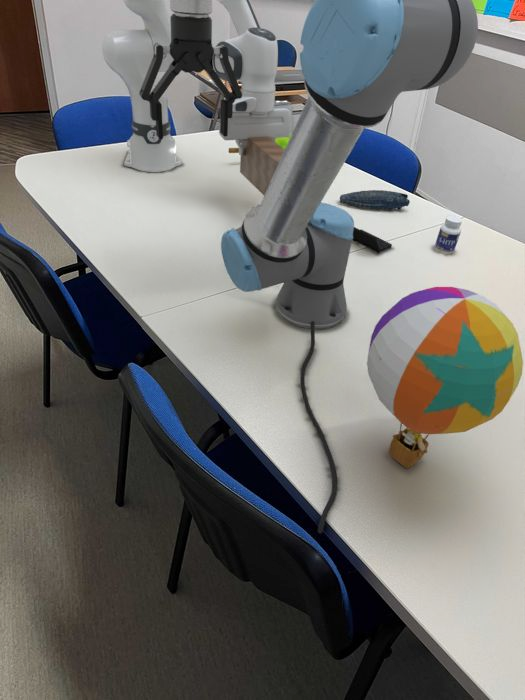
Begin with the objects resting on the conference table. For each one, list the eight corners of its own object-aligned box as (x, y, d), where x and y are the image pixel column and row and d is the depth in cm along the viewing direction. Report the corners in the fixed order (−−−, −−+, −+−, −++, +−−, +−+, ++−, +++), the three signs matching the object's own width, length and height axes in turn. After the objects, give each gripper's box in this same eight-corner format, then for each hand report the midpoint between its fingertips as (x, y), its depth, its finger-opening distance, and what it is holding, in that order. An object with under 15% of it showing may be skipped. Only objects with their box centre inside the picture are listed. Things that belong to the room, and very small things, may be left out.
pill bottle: (433, 251, 139) (442, 220, 133) (435, 243, 143) (444, 213, 137) (453, 256, 138) (464, 225, 132) (454, 247, 142) (465, 217, 136)
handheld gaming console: (396, 239, 139) (388, 216, 131) (384, 261, 138) (375, 240, 130) (358, 230, 145) (348, 208, 137) (347, 252, 144) (336, 231, 136)
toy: (317, 448, 82) (351, 286, 63) (393, 397, 93) (442, 246, 74) (418, 536, 71) (496, 372, 52) (491, 467, 82) (578, 310, 63)
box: (297, 205, 134) (302, 163, 127) (276, 208, 131) (280, 164, 125) (259, 170, 152) (261, 131, 145) (239, 172, 150) (241, 132, 143)
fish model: (408, 214, 157) (412, 198, 153) (339, 207, 158) (341, 191, 154) (406, 206, 162) (410, 190, 159) (339, 199, 163) (341, 183, 160)
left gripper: (288, 97, 142) (283, 148, 151) (217, 98, 135) (216, 152, 144) (298, 103, 138) (292, 155, 147) (225, 105, 131) (224, 160, 140)
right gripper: (248, 14, 101) (243, 128, 114) (117, 8, 93) (128, 132, 106) (262, 19, 95) (255, 138, 109) (124, 14, 87) (134, 144, 101)
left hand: (254, 154), depth 145 cm, fingers closed on box, 6 cm apart
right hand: (192, 135), depth 107 cm, fingers open, 13 cm apart
